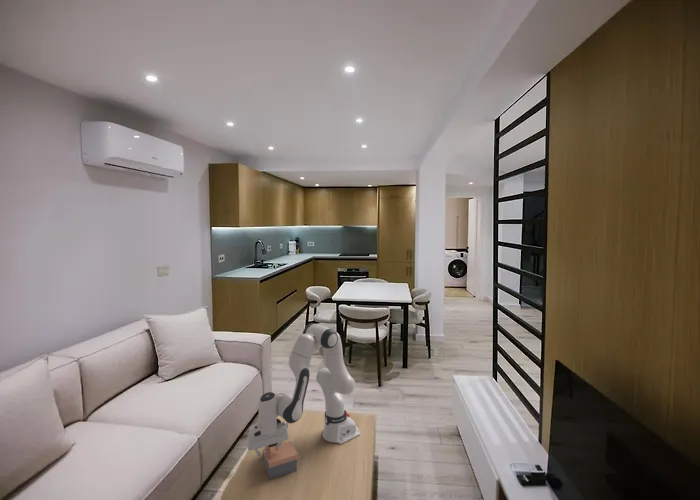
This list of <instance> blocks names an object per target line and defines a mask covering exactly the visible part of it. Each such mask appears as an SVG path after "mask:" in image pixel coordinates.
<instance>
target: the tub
mask: <svg viewBox="0 0 700 500" xmlns="http://www.w3.org/2000/svg"><path fill="white" fill-rule="evenodd" d="M263 455H264V454H263ZM263 459H264V460H263V461H264V462H263V463H264V464H263V465H264V466H263V467H264V470H265V472H266V474H267V477H268V479H269V480H270V481H271V480H273V479H276V478H279V477H283V476H285V475H288V474H291V473H295V472H297V470H298V459H296V460H293V461H290V462H287V463H284V464H281V465H278V466H275V467H271V468H269V464H268V462H267V459H266V457H265V455H264V458H263Z"/></svg>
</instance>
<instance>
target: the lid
mask: <svg viewBox="0 0 700 500" xmlns="http://www.w3.org/2000/svg"><path fill="white" fill-rule="evenodd" d="M262 455H265V457H266V459H267V462H268V464H269V468H271V467H275V466H278V465H281V464H284V463H287V462H290V461H293V460H296V459H297V460H298V459H299V452H298V450H296V447H295V446H294V444H293V443H292V441H291V440H290V441H285V442H283V443H281V445H280V446H279V450H277V451H276V450H275V446H272V447H269V446H265V447H264V448H263V449H262Z"/></svg>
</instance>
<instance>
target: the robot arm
mask: <svg viewBox="0 0 700 500" xmlns="http://www.w3.org/2000/svg"><path fill="white" fill-rule="evenodd" d="M317 346H318V347H320V348H322V349H323V350H322V352H323V353H322V354H323V362H324V365H325V367H323V368H320V369H319V370H318V371H317V373H316V377H315V379H316V383H317V384H318V386H320V388H321V391H322V393H323V396H324V403H325V412H324V428H323V431H322V435H321V436H322V438H323V440H325V441H327V442H328V443H336V444H338V445H342V444H345V443H346V442H348V441H351V440H353V439H354V438H357V437H359V436H361V431H360V429H359V427H358V426H357V425H356V423H355V421H354V419H353V418H351V414H350V412H348V411H347V410H346V409H345V399H344V397H343V395H344V396H345V395H351V394H353V391H354V390H355V387H356V382H355V379H354V378H353V377H352V376H351V374H350V372H349V371H348V369H347V367H346V365H345V361H344V355H343V344H342V338H341V335H340V334H339V333H338V332H337V331H335V330H334V329H332V328H330V327H328V326H326V325H322V324H318V323H316V322H311V323H307V325H306V326H305V327H304V329H303V330H302V334H300V335H299V336H298V337H297V339H296V341H295V343H294V345H293V347H292V350H291V352H290V355H289V359H288V366H289V368H290V370H291V372H292V373H293V375H294V377H295V386H294V391H293V394H292V397H291V396H289V395H287V394H286V393H284V392H283V393H281V392H280V393H274V392H272V391H270V392H266V393H264V394H262V395H261V396H260V398H259V401H258V416H259V418H258V421H257V422H256V423H254V424H252V425H250V426H249V427H248V430H249V433H248V434H247V437H246V448H247V449H248V451H255V453H256V456H257V457H260V456H261V450H259V449H261V448H265V446H268V445H272V444H275V443H278V444H277V445H276V446H275V450H276V451H277V450H279V446H280V445H281V444H282V442H286V441H287V440H288V438H289V433H288V429H289V424H293V423H297V422H298V421H299V420H300V419H301V418H302V415H303V412H304V405H305V404H304V403H305V398H306V393H307V389H308V385H309V380H310V366H311V365H310V364H311V360H312V358H313V354H314V351H315V348H317ZM278 417H281V418H282V419H283V420H284V421H281V423H278V424H277V419H278Z"/></svg>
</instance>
